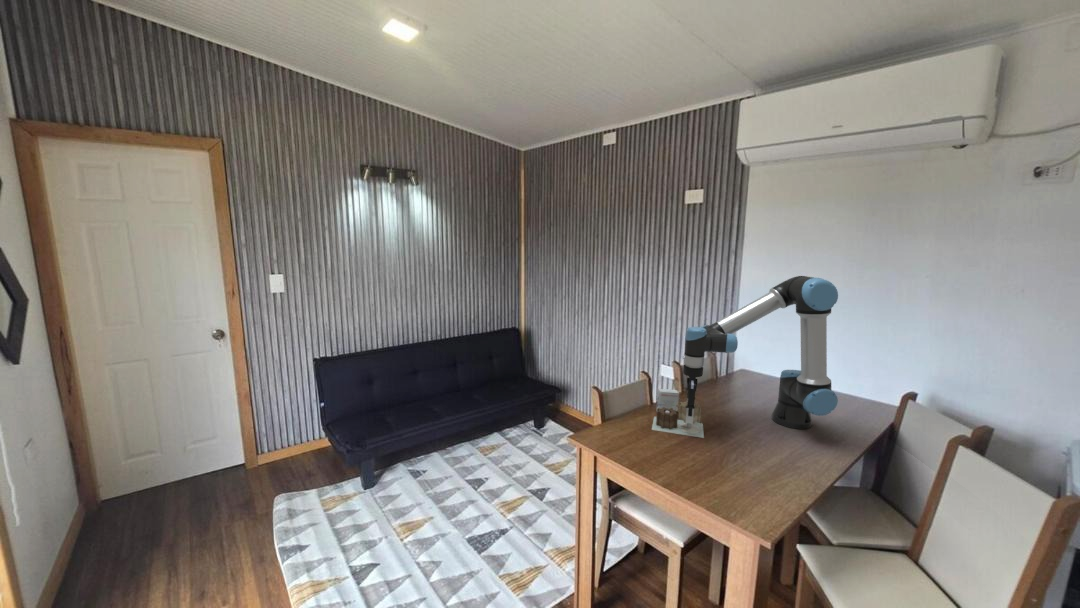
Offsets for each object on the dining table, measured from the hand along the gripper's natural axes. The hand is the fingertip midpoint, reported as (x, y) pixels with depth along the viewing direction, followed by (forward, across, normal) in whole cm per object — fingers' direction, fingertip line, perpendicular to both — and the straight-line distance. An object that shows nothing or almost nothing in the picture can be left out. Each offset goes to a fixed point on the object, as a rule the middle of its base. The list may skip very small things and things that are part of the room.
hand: (689, 418), depth 173 cm
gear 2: (0, 0, 0) cm, 0 cm away
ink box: (+6, -13, -9) cm, 17 cm away
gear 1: (+4, 0, -9) cm, 10 cm away
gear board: (+5, 0, -4) cm, 7 cm away
